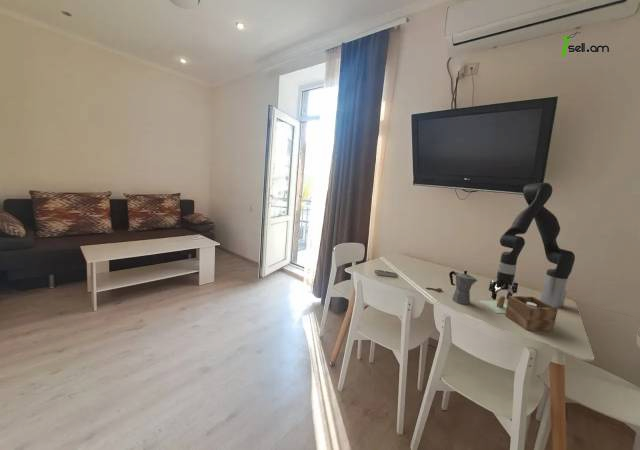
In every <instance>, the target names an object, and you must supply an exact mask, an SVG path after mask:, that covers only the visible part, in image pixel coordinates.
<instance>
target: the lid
mask: <svg viewBox="0 0 640 450" xmlns="http://www.w3.org/2000/svg"><path fill="white" fill-rule="evenodd" d="M497 296H498V297H497V300H481V299H480V300H478V301H479V303H481V304H483V305H484V306H485V307H487V308H488V309H490V310H491V311H493V312H494V313H496V314H499V315H500V314H503V315H505V313H506V308H507V303H505V299H506V297H505V296H504V295H497Z"/></svg>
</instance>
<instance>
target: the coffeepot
mask: <svg viewBox="0 0 640 450" xmlns="http://www.w3.org/2000/svg"><path fill="white" fill-rule="evenodd" d="M467 273H468V271H467V270H463V273H461V272H460V273H459V272H457V271H455V270H454V271H453V270H452V271H450V272H449V274H448V275H449V280H450V285H452V286H456V288H455V291H454V293H453V296H452V301H453V302H455V303H457V304H460V305H464V306H465V305H466V306H467V305H470V303H471V295H470V294H471V292H470V291H471V288H472V286H473V285H474V284H475V283H476V282H478V280H477V278H475V277H474V276H472V275H470V274H467ZM453 275H454V276H455V283H454V279H453Z"/></svg>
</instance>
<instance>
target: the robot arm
mask: <svg viewBox="0 0 640 450" xmlns="http://www.w3.org/2000/svg"><path fill="white" fill-rule="evenodd" d="M522 191H523V192H522V194H523V198H524V200H525V202H526V205H528V206H527V207H526V208H525V209H523V210H522V211H520V212H519V213H518V215H517V216H516V217H515V219H514V220H513V222H512V224H511V226H510V227H509V228H508V229H507V230H506V231H505V232H504V233H503V234H502V235H501V237H500V239H499V244H500V246H502V247H504V248H509V249H512V250H511V251H503V252H502V253H501V255H500V259H499V260H500V261H499V263H498V268H497V274H496V280H492V279H491V280H490V283H489V287H488V291H489V292H491V295H490V296H491V299H492V301H497V296H498V295H497V294H498V293H499V292H500V291H501V290H502V291H507V294H506V297H505V299H506V300H507V301H508V298H509V296H513V295H514V294H517V293H518V286H519V283H518V282H516V281H514V280H515V276H516V270H517V263H518V262H517V261H518V258H519V256H520V254H521V252H522V250H523V249H524V247H525V244H526V241H525V238H524V237H523V236H519V235H525V234H526V233H527V231H528V229H529V228H530V226H531V224H532V222H533V221H535V225H536V227H537V230H538V233H539V235H540V238H541V241H542V245H543V249H544V253H545V257H546V260H547V261H548V262H549V263H552V264H555V265H556V267H555V268H548V269H547V270H546V274H545V278H544V283H543V288H542V292H541V296H540V297H541V298H540V301H542V302H544V303H546V304H548V305H550V306H552V307H554V308H556V309H559V308H562V307H564V303H565V300H566V295H567V291H566V288H567V283H568V279H569V277H570V275H571V273H572V271H573V267H574V264H575V260H576V256H575V253H574V252H573V251H570V250H567V249H564V248H560V247H559V245H558V242H557V238H558V236H559V235H560V232H561V226H560V222H559V219H558V218H557V217H556V215H555V214H554V213H553V212H552V211H550V210H549V209H547V207H545V205H546V203H547V202H548V201H549V199H550V198H551V196H552V194H553V186H552V184H551V183H549V182H538V183H537V182H535V183H528V184H526V185H524V187H523V189H522Z"/></svg>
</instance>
